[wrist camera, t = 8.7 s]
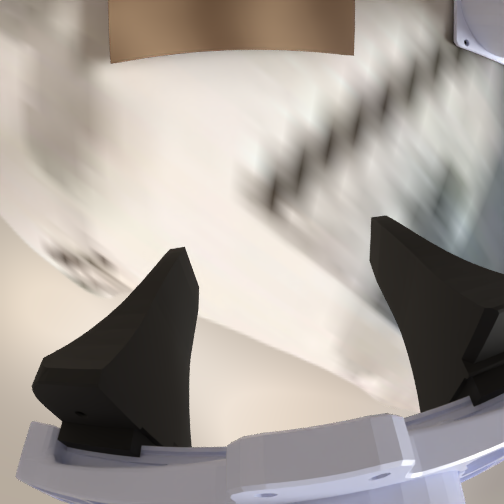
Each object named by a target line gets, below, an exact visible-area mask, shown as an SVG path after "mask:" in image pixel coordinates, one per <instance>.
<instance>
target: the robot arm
mask: <svg viewBox="0 0 504 504" xmlns="http://www.w3.org/2000/svg"><path fill="white" fill-rule="evenodd" d="M464 40H465V41H466V45H465V44H464ZM454 43H455V44H456V46H458V47H460V48H463V49H466V50H469V51H471V52H474V53H476V54H479V55H481V56H484V57H486V58H489V59H491V60H493V61H496V62H498V63H500V64H502V65H504V0H454ZM370 263H371V266H372V269H373V272H374V275H375V278H376V281H377V283H378V285H379V287H380V289H381V291H382V293H383V295H384V297H385V299H386V301H387V303H388V305H389V307H390V309H391V311H392V313H393V315H394V318H395V320H396V322H397V324H398V326H399V329H400V331H401V334H402V337H403V340H404V343H405V346H406V350H407V353H408V356H409V360H410V364H411V368H412V371H413V376H414V380H415V385H416V389H417V394H418V400H419V406H420V412H421V413H419V414H416V415H412V416H409V417H406V418H403V417H401V416H398V415H393V414H389V413H385V414H378V415H370V416H365V417H361V418H356V419H352V420H346V421H341V422H336V423H331V424H325V425H319V426H313V427H307V428H300V429H293V430H285V431H276V432H267V433H260V434H255V435H250V436H244V437H242V438H239V439H237V440H235V441H233V442H231V443H230V444H229V445H227V447H192V446H191V435H190V415H189V372H190V358H191V351H192V345H193V339H194V333H195V327H196V321H197V315H198V305H199V286H198V283H197V280H196V277H195V275H194V272H193V269H192V266H191V263H190V261H189V258H188V255H187V252H186V249H185V247H181V248H175V249H170V250H169V251H168V252H167V253H166V254H165V255H164V256H163V258H162V259H161V260H160V261H159V262H158V263H157V265H156V266H155V267H154V268H153V269H152V270H151V272H150V273H149V274H148V275H147V276H146V277H145V279H144V280H143V281H142V282H141V283H140V284H139V285H138V286H137V287H136V289H135V290H134V291H133V292H132V293H131V294H130V295H129V296H128V297H127V298H126V299H125V300H124V301H123V302H122V303H121V304H120V305H119V306H118V307H117V308H116V309H115V310H114V311H112V312H111V313H110V314H109V315H108V316H107V317H106V318H104V319H103V320H102V321H100V322H99V323H98V324H97V325H95V326H94V327H93V328H92V329H90V330H89V331H88V332H86V333H85V334H83V335H82V336H81V337H79V338H77V339H76V340H74V341H73V342H71V343H70V344H68V345H66V346H65V347H63V348H61V349H59V350H57V351H56V352H54V353H52V354H50V355H48V356H46V357H44V358H43V360H42V362H41V365H40V367H39V370H38V372H37V375H36V377H35V380H34V382H33V385H32V390H33V392H34V394H35V396H36V397H37V399H38V400H39V401H40V402H41V403H42V404H43V405H44V406H45V407H46V408H47V409H49V410H50V411H51V412H52V413H53V414H54V415H56V416H57V417H58V418H59V419H60V420H61V421H62V425H61V428H58V427H56V426H54V425H50V424H44V423H40V422H35V421H32V422H31V424H30V427H29V431H28V434H27V437H26V441H25V444H24V447H23V450H22V454H21V458H20V461H19V465H18V469H17V473H16V478H17V479H18V480H20V481H22V482H24V483H25V484H27V485H29V486H31V487H33V488H35V489H37V490H39V491H41V492H43V493H45V494H47V495H49V496H51V497H53V498H56V499H58V500H60V501H63V502H67V503H69V504H466V503H465V498H464V495H463V490H462V486H461V483H462V482H464V481H466V480H468V479H470V478H472V477H474V476H476V475H478V474H480V473H482V472H484V471H486V470H488V469H489V468H491V467H493V466H495V465H497V464H498V463H500V462H502V461H504V274H501V273H498V272H495V271H492V270H489V269H486V268H483V267H481V266H478V265H476V264H473V263H471V262H468V261H466V260H464V259H462V258H459V257H457V256H455V255H453V254H451V253H449V252H447V251H445V250H443V249H442V248H440V247H438V246H436V245H434V244H433V243H431V242H429V241H428V240H426V239H424V238H423V237H421V236H419V235H418V234H416V233H414V232H413V231H411V230H410V229H408V228H406V227H405V226H403V225H402V224H400V223H398V222H397V221H395V220H393V219H392V218H390V217H388V216H379V217H372V218H371V242H370Z"/></svg>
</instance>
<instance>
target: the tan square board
mask: <svg viewBox="0 0 504 504" xmlns="http://www.w3.org/2000/svg"><path fill="white" fill-rule="evenodd" d="M108 15H109V43H110V59H111V63H119V62H125V61H130V60H136V59H142V58H149V57H156V56H163V55H172V54H181V53H191V52H204V51H221V50H291V51H308V52H321V53H331V54H340V55H353V56H354V33H355V0H108Z"/></svg>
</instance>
